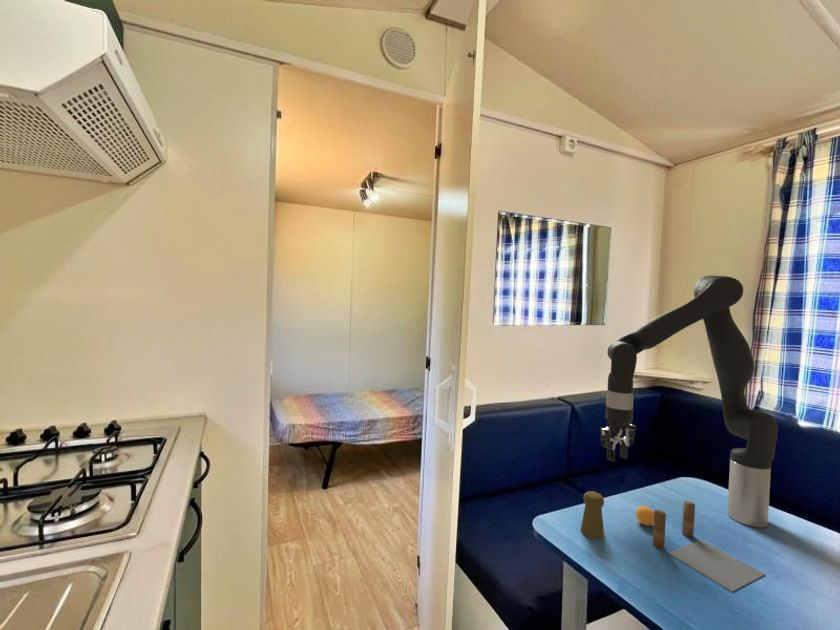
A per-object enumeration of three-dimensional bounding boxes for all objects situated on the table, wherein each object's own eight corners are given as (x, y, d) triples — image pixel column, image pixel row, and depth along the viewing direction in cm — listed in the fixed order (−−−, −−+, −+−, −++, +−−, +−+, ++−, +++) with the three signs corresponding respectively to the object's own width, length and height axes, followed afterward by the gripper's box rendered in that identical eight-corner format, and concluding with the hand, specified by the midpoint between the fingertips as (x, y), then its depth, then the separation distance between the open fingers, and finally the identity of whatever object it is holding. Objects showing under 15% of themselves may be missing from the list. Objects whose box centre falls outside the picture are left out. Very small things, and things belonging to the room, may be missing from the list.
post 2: (685, 531, 106) (687, 500, 106) (695, 536, 104) (697, 504, 104) (680, 533, 105) (681, 501, 105) (689, 538, 103) (691, 506, 103)
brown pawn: (607, 540, 101) (608, 500, 101) (583, 537, 102) (584, 497, 102) (601, 527, 107) (602, 489, 107) (578, 524, 108) (579, 487, 108)
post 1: (656, 541, 101) (658, 509, 101) (666, 547, 99) (668, 514, 99) (650, 544, 100) (652, 510, 100) (660, 550, 98) (661, 516, 97)
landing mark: (701, 540, 102) (701, 539, 102) (765, 574, 89) (765, 574, 89) (668, 553, 96) (668, 552, 96) (732, 592, 84) (732, 591, 84)
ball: (642, 517, 113) (643, 501, 112) (659, 527, 108) (660, 510, 108) (631, 521, 111) (632, 504, 110) (647, 531, 106) (648, 513, 106)
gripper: (624, 400, 124) (621, 451, 124) (592, 404, 118) (590, 457, 118) (645, 406, 117) (643, 460, 117) (613, 410, 111) (611, 467, 112)
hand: (617, 458), depth 118 cm, fingers open, 5 cm apart
